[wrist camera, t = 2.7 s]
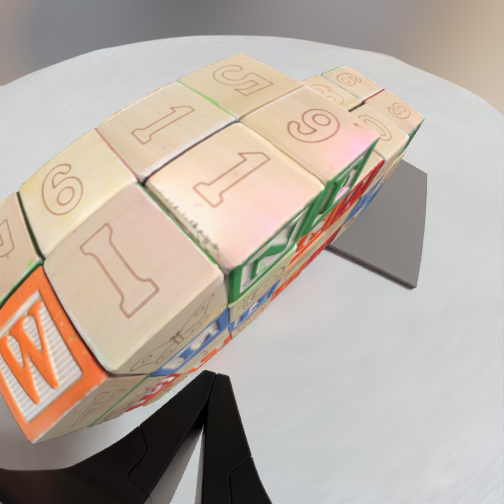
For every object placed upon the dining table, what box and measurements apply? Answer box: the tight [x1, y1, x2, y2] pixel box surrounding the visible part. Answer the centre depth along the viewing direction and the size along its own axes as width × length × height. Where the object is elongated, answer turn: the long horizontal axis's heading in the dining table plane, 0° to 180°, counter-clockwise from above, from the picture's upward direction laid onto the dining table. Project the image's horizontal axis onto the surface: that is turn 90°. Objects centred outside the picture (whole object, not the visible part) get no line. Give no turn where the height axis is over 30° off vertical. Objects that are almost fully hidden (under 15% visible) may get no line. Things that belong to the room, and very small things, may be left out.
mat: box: [327, 159, 427, 288], centre depth 23 cm, size 13×24×1 cm, turn 65°
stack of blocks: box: [0, 54, 425, 444], centre depth 13 cm, size 21×6×12 cm, turn 134°
